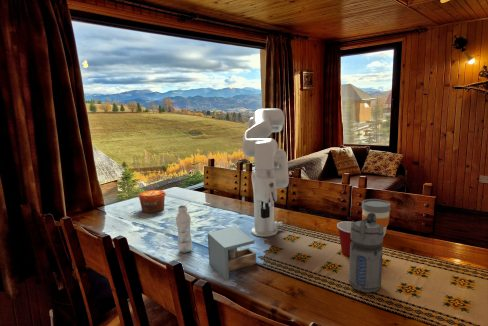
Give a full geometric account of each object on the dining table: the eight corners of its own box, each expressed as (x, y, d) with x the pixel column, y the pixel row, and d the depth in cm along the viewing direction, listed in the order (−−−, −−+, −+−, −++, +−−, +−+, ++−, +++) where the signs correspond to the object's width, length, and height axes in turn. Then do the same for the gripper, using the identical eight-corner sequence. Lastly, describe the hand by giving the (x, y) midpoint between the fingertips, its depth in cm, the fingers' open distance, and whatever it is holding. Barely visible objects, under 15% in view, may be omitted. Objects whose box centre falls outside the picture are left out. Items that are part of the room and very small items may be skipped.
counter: (236, 255, 138) (234, 226, 136) (255, 271, 124) (254, 240, 122) (209, 262, 133) (207, 232, 131) (226, 280, 119) (224, 247, 117)
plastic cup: (357, 262, 130) (358, 233, 127) (331, 254, 137) (332, 226, 134) (367, 252, 138) (369, 224, 135) (343, 245, 145) (343, 219, 142)
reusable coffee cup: (358, 236, 154) (359, 205, 151) (362, 226, 165) (363, 197, 162) (388, 240, 148) (389, 208, 145) (390, 230, 159) (392, 200, 156)
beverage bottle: (385, 280, 116) (389, 212, 111) (375, 299, 105) (379, 224, 101) (356, 272, 122) (358, 207, 117) (344, 289, 111) (346, 218, 107)
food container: (139, 207, 206) (137, 191, 204) (165, 204, 211) (164, 188, 209) (139, 215, 191) (137, 197, 189) (167, 212, 196) (166, 194, 194)
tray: (248, 257, 136) (248, 240, 134) (256, 263, 131) (255, 246, 129) (217, 266, 129) (216, 248, 128) (224, 273, 124) (223, 254, 123)
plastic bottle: (178, 255, 140) (175, 210, 136) (177, 248, 146) (174, 205, 142) (193, 253, 141) (191, 208, 138) (191, 246, 148) (189, 203, 144)
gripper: (283, 175, 125) (283, 221, 128) (262, 168, 138) (263, 210, 141) (266, 177, 121) (267, 225, 125) (246, 170, 134) (248, 213, 138)
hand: (265, 217), depth 133 cm, fingers closed
